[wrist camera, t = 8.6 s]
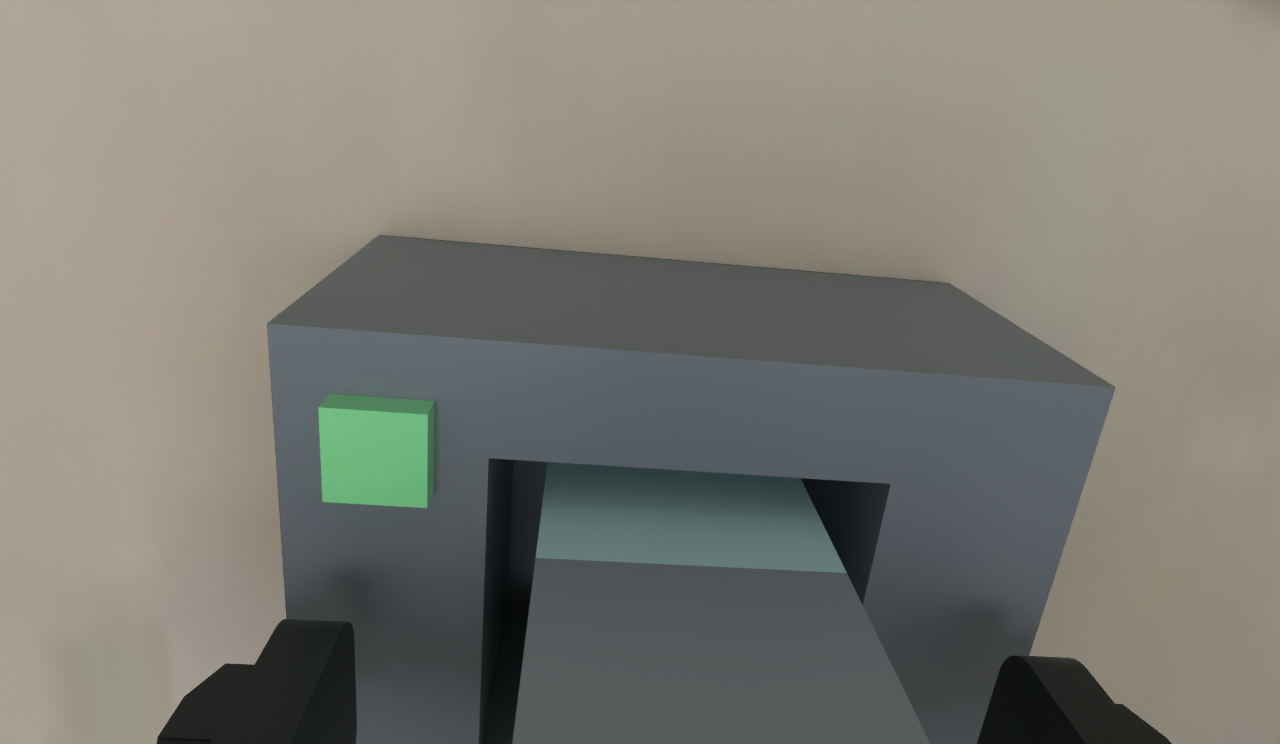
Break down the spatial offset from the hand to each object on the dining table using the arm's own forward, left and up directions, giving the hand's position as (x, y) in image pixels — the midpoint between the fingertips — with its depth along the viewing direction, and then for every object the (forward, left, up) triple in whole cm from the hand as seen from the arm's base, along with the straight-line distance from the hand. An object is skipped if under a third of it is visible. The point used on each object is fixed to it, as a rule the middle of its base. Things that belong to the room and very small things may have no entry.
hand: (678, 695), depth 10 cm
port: (0, 0, -6) cm, 6 cm away
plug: (0, 0, -5) cm, 5 cm away
